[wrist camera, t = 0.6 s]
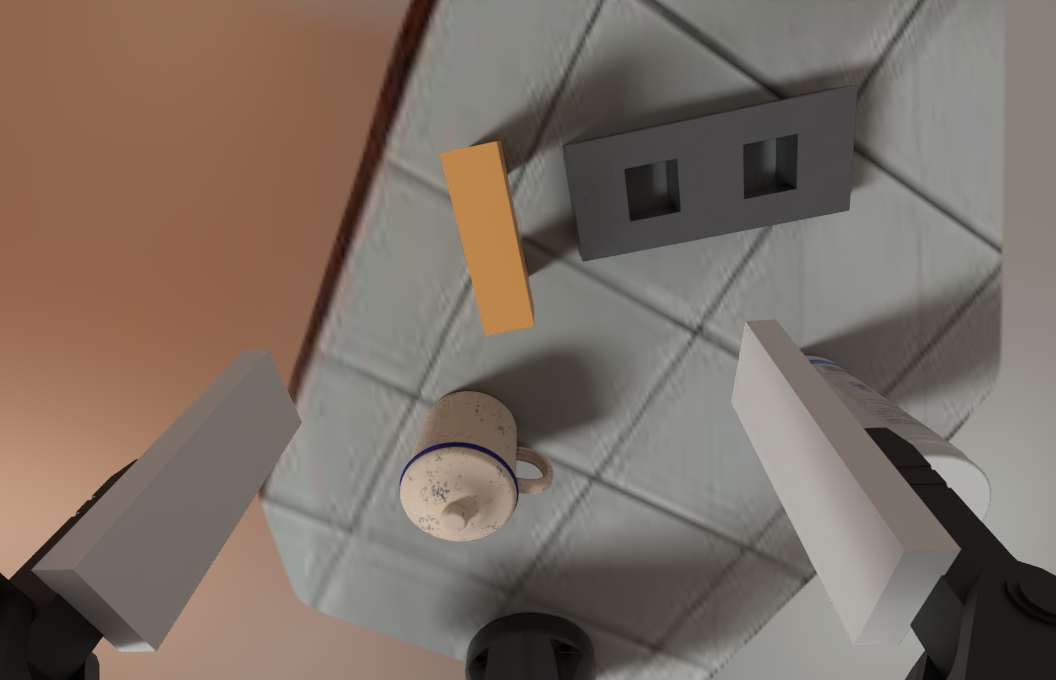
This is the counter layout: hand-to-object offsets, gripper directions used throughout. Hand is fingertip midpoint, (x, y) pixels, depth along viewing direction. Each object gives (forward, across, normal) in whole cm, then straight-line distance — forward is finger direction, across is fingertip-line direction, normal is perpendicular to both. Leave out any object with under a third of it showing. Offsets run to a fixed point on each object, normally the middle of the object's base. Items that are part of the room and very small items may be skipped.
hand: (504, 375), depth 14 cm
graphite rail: (+26, -12, +2) cm, 29 cm away
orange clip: (+25, +3, +3) cm, 26 cm away
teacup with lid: (+22, +6, +22) cm, 32 cm away
